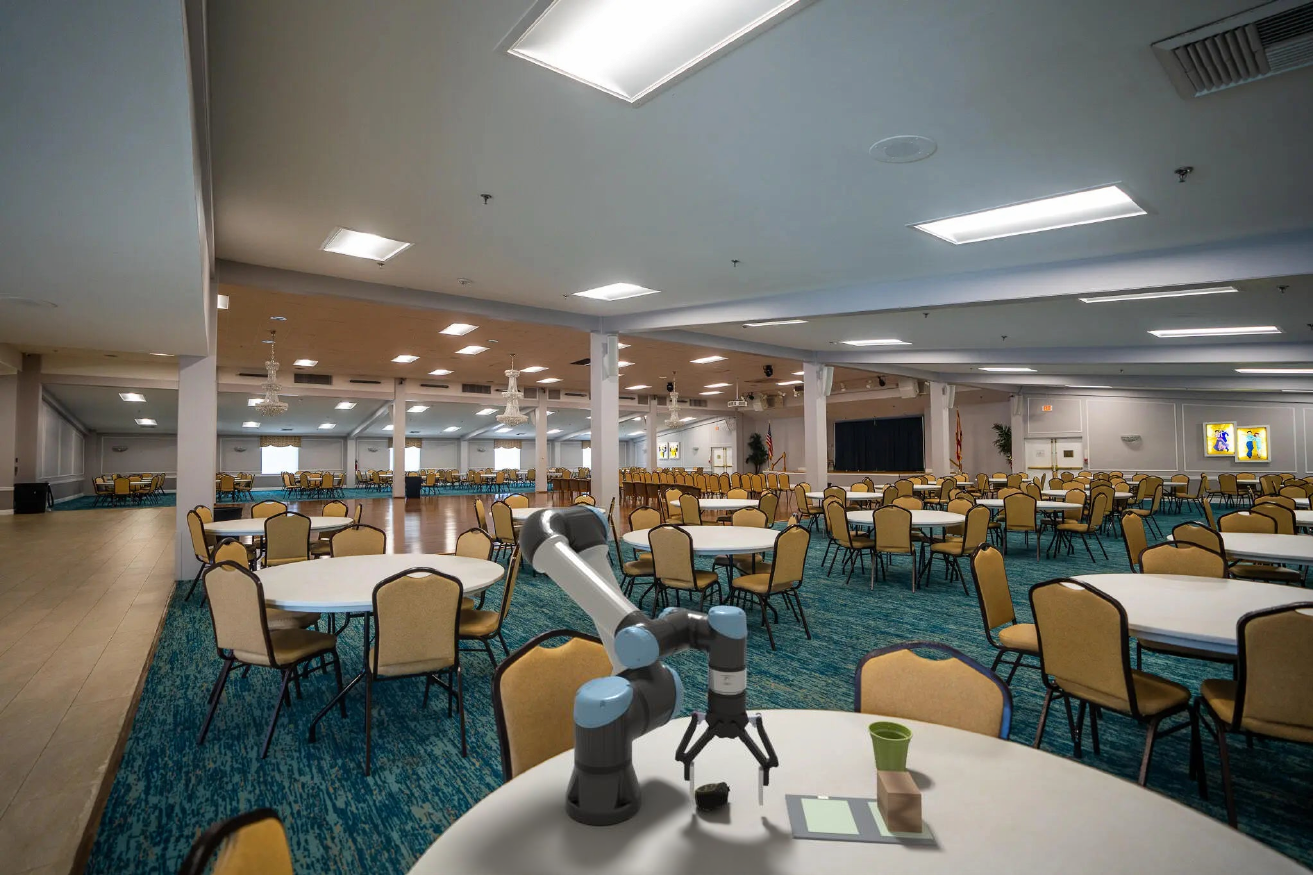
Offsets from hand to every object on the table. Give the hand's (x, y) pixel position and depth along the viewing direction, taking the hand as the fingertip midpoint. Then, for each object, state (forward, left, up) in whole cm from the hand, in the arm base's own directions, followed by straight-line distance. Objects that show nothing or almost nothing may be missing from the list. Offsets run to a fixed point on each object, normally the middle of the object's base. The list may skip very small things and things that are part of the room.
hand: (726, 799), depth 121 cm
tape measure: (0, 0, -2) cm, 2 cm away
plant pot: (+37, +21, -3) cm, 42 cm away
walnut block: (+33, 0, -2) cm, 33 cm away
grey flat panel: (+25, 0, -3) cm, 25 cm away
